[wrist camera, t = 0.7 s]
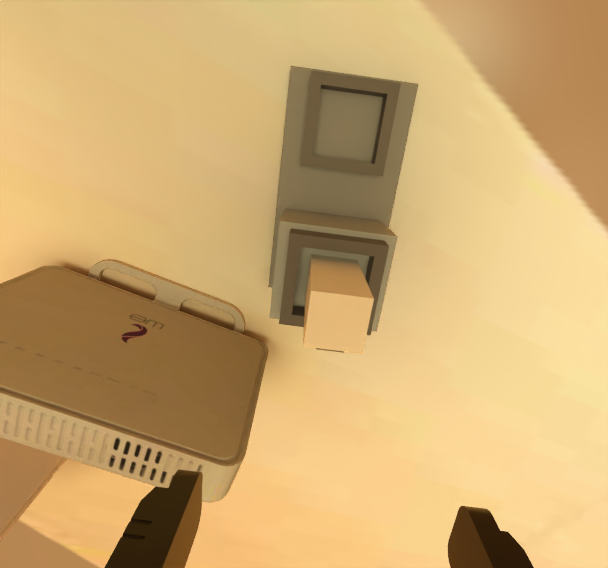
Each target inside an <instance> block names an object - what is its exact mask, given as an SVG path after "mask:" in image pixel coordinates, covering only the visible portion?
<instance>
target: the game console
mask: <svg viewBox="0 0 608 568" xmlns="http://www.w3.org/2000/svg"><path fill="white" fill-rule="evenodd" d="M66 459H67V458H64V457H61V456H58V455H55V454H52V453H48V452H45V451H42V450H39V449H36V448H33V447H29V446H26V445H23V444H20V443H17V442H14V441H10V440H7V439H4V438H1V437H0V541H1V540H2V539H3V537H4V536H5V535H6V534H7V533H8V531H9V530H10V529H11V528H12V526H13V525H14V524H15V523H16V521H17V520H18V519H19V518H20V516H21V515H22V514H23V513H24V511H25V510H26V509H27V508H28V507H29V505H30V504H31V503H32V502H33V500H34V499H35V498H36V497H37V495H38V494H39V493H40V492H41V490H42V489H43V488H44V487H45V485H46V484H47V483H48V482H49V480H50V479H51V478H52V476H53V474H54V473H55V472H56V470H57V469H58V468H59V467H60V466H61V465H62V464H63V462H64V461H65V460H66Z"/></svg>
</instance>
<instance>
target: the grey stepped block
mask: <svg viewBox="0 0 608 568" xmlns="http://www.w3.org/2000/svg"><path fill="white" fill-rule="evenodd" d="M417 88H418V84H415V83H407V82H400V81H393V80H386V79H379V78H372V77H365V76H358V75H351V74H344V73H337V72H330V71H323V70H316V69H309V68H302V67H295V66H291V70H290V80H289V90H288V100H287V110H286V120H285V129H284V139H283V149H282V159H281V169H280V179H279V189H278V198H277V208H276V218H275V228H274V238H273V248H272V257H271V267H270V277H269V287H273V290H272V299H271V309H270V318H274V319H280V320H279V324H284V325H292V326H300V327H304V316H305V296H306V288H307V281H308V274H309V267H310V260H311V254H314V255H321V256H329V257H337V258H344V259H352V260H357V261H358V263H359V266H360V268H361V270H362V273H363V275H364V277H365V279H366V282H367V284H368V286H369V288H370V291H371V293H372V295H373V297H374V301H373V306H372V311H371V316H370V321H369V325H368V330H367V335H370V334H371V331H377V327H378V323H379V318H380V313H381V309H382V304H383V300H384V295H385V291H386V286H387V281H388V277H389V272H390V268H391V263H392V258H393V254H394V249H395V245H396V240H397V236H396V235H395V234H394V233H393V232H392V231H391V230H390V229H389V228H388V227H389V222H390V218H391V213H392V208H393V203H394V198H395V194H396V189H397V184H398V179H399V174H400V170H401V165H402V160H403V155H404V150H405V145H406V141H407V136H408V131H409V126H410V121H411V117H412V112H413V107H414V102H415V97H416V93H417Z"/></svg>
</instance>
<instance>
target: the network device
mask: <svg viewBox="0 0 608 568" xmlns="http://www.w3.org/2000/svg"><path fill="white" fill-rule="evenodd" d="M106 268H110V269H114V270H116V271H119V272H122V273H124V274H127V275H129V276H132V277H135V278H137V279H140V280H143V281H145V282H148V283H150V284H152V285H153V286H154V287H155V289H156V292H157V295H156V297H155V299H154V300H153V301H152V300H149V299H147V298H144V297H141V296H139V295H136V294H133V293H131V292H128V291H125V290H123V289H120V288H117V287H115V286H112V285H109V284H107V283H104V282H101V281H100V280H101V276H102V272H103V270H104V269H106ZM187 299H192V300H195V301H198V302H201V303H203V304H206V305H209V306H211V307H214V308H216V309H219V310H222V311H224V312H227V313H229V314H231V315H232V316H233V317H234V319H235V326H234V329H233V331H232V330H230V329H227V328H224V327H222V326H219V325H216V324H213V323H211V322H208V321H205V320H203V319H200V318H197V317H195V316H192V315H189V314H187V313H184V312H181V311H180V308H181V305H182V303H183V301H184V300H187ZM244 329H245V320H244V317H243V315H242V313H241V312H240V310H239V309H238V308H237V307H235V306H234V305H232V304H230V303H228V302H225V301H223V300H220V299H218V298H215V297H212V296H210V295H207V294H205V293H202V292H199V291H197V290H194V289H191V288H189V287H186V286H184V285H181V284H178V283H176V282H173V281H171V280H168V279H165V278H163V277H160V276H158V275H155V274H152V273H150V272H147V271H144V270H142V269H139V268H137V267H134V266H131V265H129V264H126V263H124V262H121V261H118V260H111V259H109V260H103V261H101V262H99V263H97V264H95V265H94V266H93V267H92V268H91V269H90V271H89V273H88V276H85V275H83V274H80V273H77V272H75V271H72V270H69V269H66V268H63V267H59V266H44V267H40V268H38V269H36V270H33V271H31V272H28V273H26V274H23V275H21V276H18V277H16V278H14V279H11V280H9V281H6V282H4V283H1V284H0V437H1V438H4V439H7V440H10V441H14V442H17V443H20V444H23V445H26V446H29V447H33V448H36V449H39V450H42V451H45V452H48V453H52V454H55V455H58V456H61V457H64V458H67V459H71V460H74V461H77V462H80V463H83V464H86V465H90V466H93V467H96V468H99V469H102V470H105V471H109V472H112V473H115V474H118V475H121V476H124V477H128V478H131V479H134V480H137V481H140V482H143V483H147V484H150V485H153V486H156V487H163V488H169V485H170V483H171V481H172V479H173V477H174V475H175V473H176V471H177V470H178V469H180V470H188V471H196V472H202V474H203V482H202V501H204V502H216V501H219V500H221V499H222V498H224V497H225V496H226V494H227V493H228V491H229V489H230V487H231V485H232V483H233V480H234V478H235V476H236V474H237V472H238V470H239V467H240V465H241V463H242V461H243V459H244V456H245V454H246V449H247V445H248V440H249V436H250V431H251V427H252V422H253V418H254V413H255V409H256V404H257V400H258V395H259V391H260V386H261V382H262V377H263V373H264V368H265V364H266V359H267V355H268V348H267V347H266V345H265V344H263V343H262V342H260V341H259V340H256V339H254V338H251V337H248V336H246V335H243V332H244Z"/></svg>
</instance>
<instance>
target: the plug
mask: <svg viewBox="0 0 608 568" xmlns="http://www.w3.org/2000/svg"><path fill="white" fill-rule="evenodd" d="M373 301H374V297H373V295H372V293H371V291H370V288H369V286H368V284H367V282H366V279H365V277H364V275H363V273H362V270H361V268H360V266H359V263H358V261H357V260H352V259H344V258H337V257H329V256H321V255H314V254H311V260H310V267H309V274H308V281H307V288H306V296H305V316H304V338H303V347H311V348H316V349H320V350H328V351H336V352H352V353H360V354H363V349H364V345H365V340H366V335H367V330H368V325H369V321H370V316H371V311H372V306H373Z"/></svg>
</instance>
